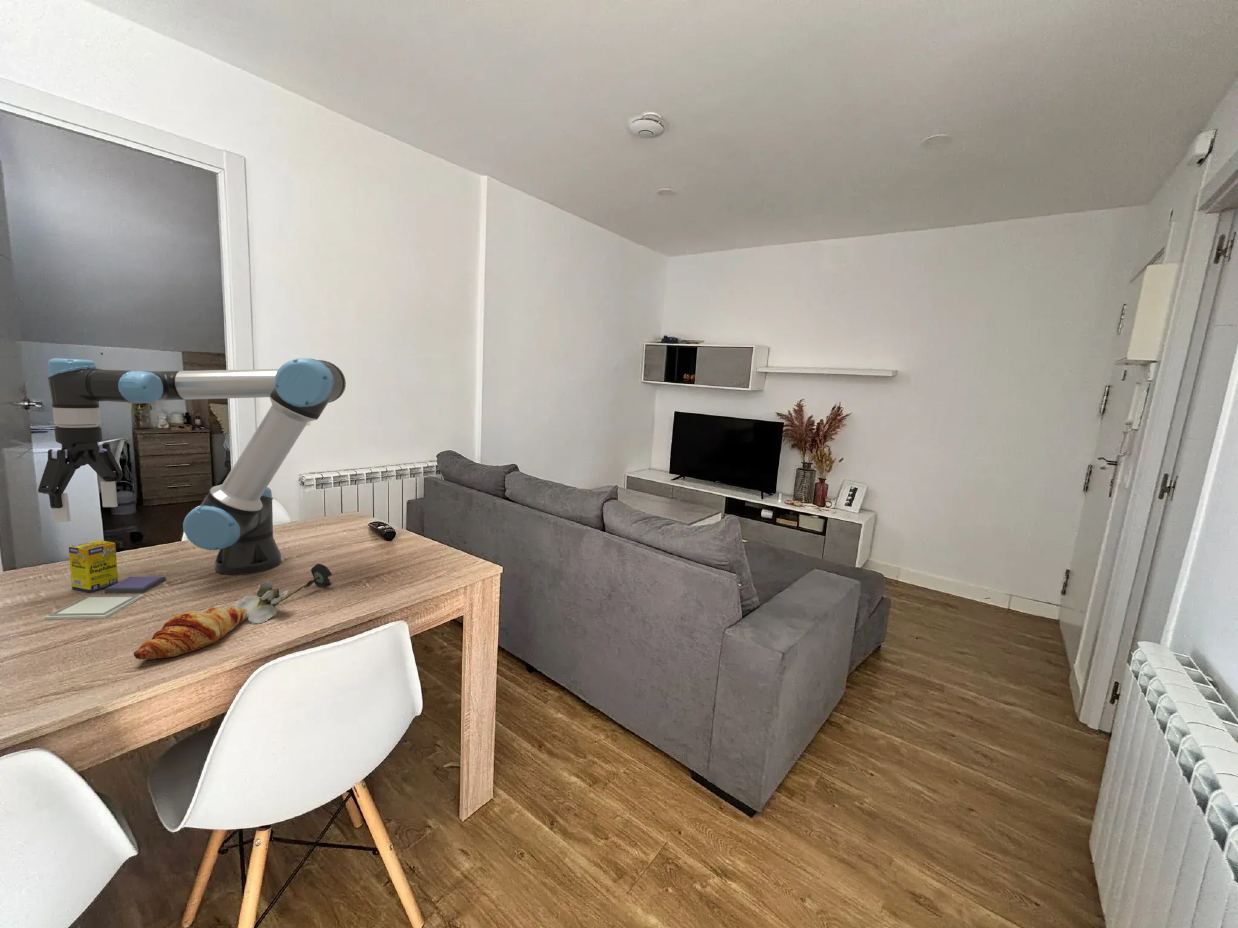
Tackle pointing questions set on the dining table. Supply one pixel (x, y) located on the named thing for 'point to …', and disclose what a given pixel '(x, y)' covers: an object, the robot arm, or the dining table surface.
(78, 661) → the dining table surface
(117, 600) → the board
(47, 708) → the dining table surface
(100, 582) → the supplement box
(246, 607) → the artificial flower
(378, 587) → the dining table surface
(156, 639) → the croissant
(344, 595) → the dining table surface
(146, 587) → the ink pad
